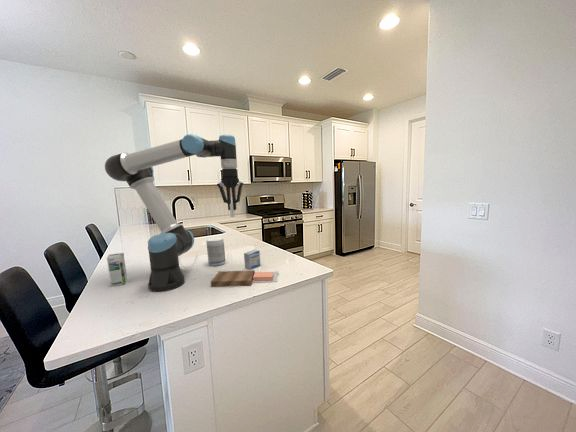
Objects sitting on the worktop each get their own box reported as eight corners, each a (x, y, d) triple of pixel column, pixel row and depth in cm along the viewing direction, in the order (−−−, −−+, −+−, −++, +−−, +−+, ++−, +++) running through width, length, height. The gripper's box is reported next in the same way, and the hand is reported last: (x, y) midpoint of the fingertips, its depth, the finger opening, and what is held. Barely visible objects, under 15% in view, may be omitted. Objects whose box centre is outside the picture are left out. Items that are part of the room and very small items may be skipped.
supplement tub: (228, 263, 136) (226, 238, 134) (213, 267, 130) (211, 242, 128) (220, 259, 143) (218, 236, 141) (205, 263, 137) (203, 239, 134)
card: (253, 281, 109) (253, 277, 109) (255, 276, 115) (255, 272, 115) (272, 280, 109) (272, 276, 109) (273, 275, 115) (273, 271, 115)
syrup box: (110, 287, 110) (106, 257, 107) (113, 282, 115) (109, 253, 113) (125, 284, 112) (121, 255, 110) (127, 279, 117) (123, 251, 115)
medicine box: (250, 269, 125) (249, 254, 123) (244, 268, 127) (243, 252, 126) (260, 265, 131) (259, 250, 130) (255, 263, 134) (254, 249, 132)
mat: (253, 282, 108) (253, 282, 108) (256, 272, 120) (256, 272, 120) (276, 282, 108) (276, 281, 108) (278, 272, 120) (278, 271, 120)
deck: (211, 286, 106) (210, 281, 105) (219, 276, 118) (218, 271, 117) (250, 285, 105) (250, 280, 105) (254, 275, 117) (254, 270, 117)
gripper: (213, 168, 110) (217, 218, 113) (241, 167, 110) (244, 217, 113) (218, 169, 117) (222, 216, 121) (244, 168, 117) (247, 215, 121)
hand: (232, 216), depth 117 cm, fingers closed
